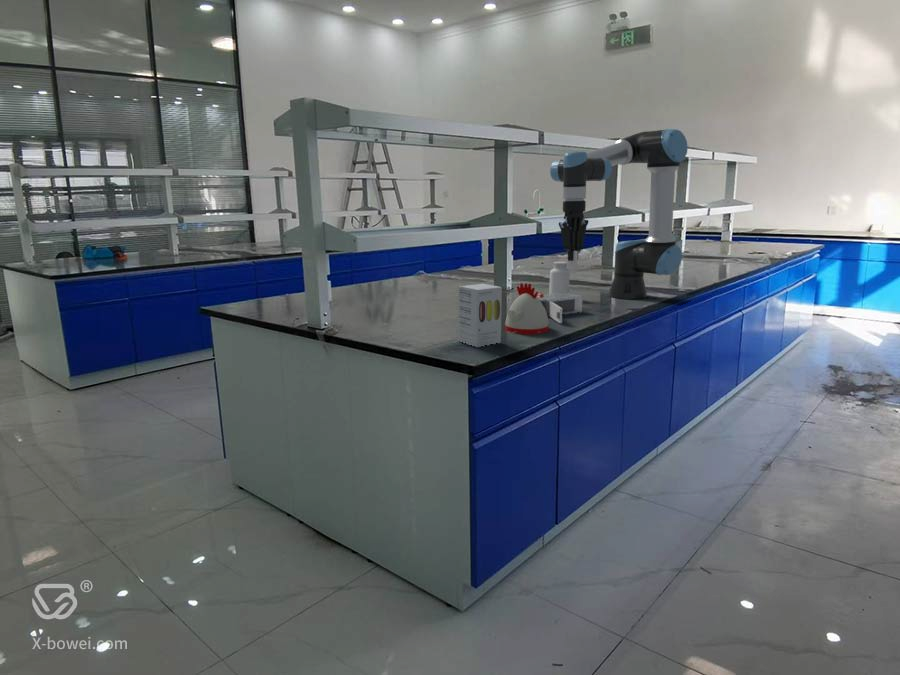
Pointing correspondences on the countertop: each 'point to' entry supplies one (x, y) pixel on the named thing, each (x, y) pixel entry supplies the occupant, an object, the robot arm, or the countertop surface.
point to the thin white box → (555, 312)
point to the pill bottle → (559, 278)
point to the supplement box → (480, 314)
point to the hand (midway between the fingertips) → (572, 269)
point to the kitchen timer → (527, 313)
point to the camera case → (562, 302)
